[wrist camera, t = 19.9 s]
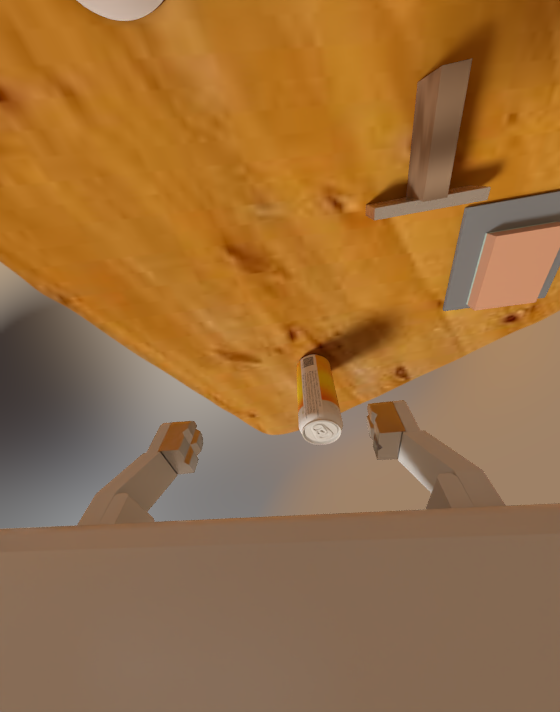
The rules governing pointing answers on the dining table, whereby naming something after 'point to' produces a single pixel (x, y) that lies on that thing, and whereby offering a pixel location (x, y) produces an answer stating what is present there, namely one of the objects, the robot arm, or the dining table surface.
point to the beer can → (317, 401)
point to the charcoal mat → (490, 220)
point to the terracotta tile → (514, 265)
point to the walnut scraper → (434, 147)
